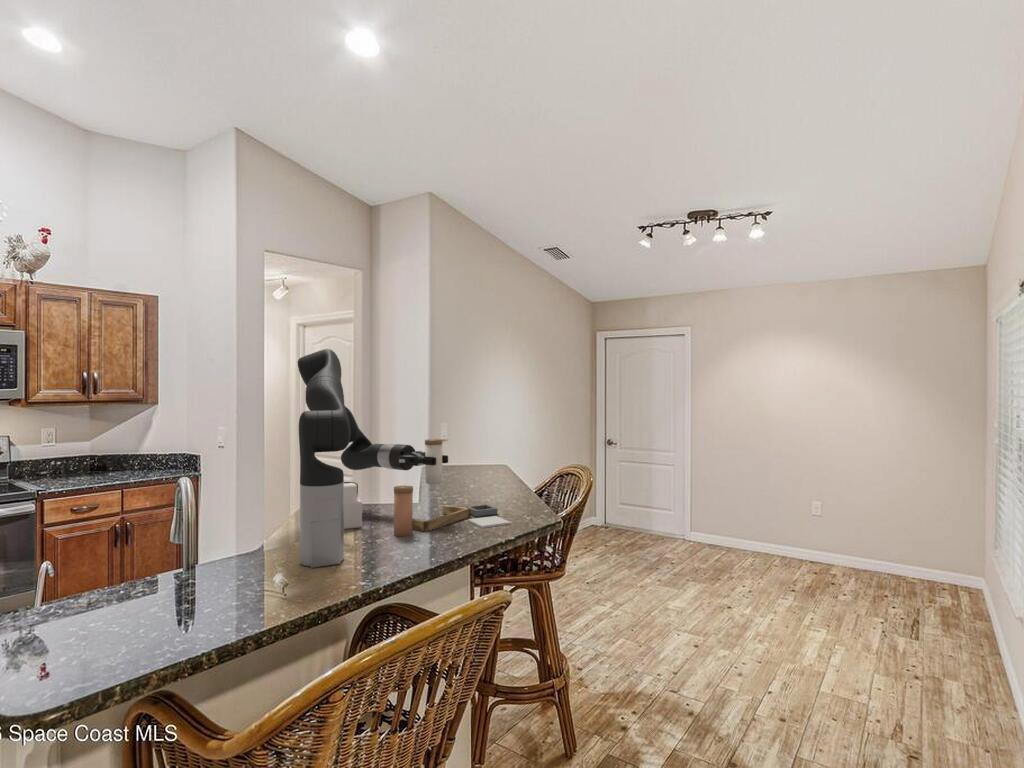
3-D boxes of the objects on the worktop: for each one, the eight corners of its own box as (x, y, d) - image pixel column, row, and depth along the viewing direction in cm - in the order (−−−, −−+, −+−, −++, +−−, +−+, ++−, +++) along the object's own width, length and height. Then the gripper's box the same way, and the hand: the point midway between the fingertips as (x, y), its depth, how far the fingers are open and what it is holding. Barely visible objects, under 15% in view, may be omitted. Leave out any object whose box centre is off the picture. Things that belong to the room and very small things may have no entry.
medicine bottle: (331, 524, 161) (331, 481, 162) (357, 522, 164) (357, 479, 165) (335, 530, 155) (335, 485, 155) (362, 527, 158) (362, 483, 158)
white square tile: (510, 524, 161) (510, 522, 161) (481, 528, 157) (481, 525, 157) (495, 517, 169) (495, 515, 169) (467, 521, 165) (467, 519, 165)
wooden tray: (470, 517, 170) (470, 508, 170) (426, 531, 153) (426, 522, 153) (444, 513, 175) (444, 505, 175) (399, 527, 158) (399, 518, 158)
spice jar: (445, 483, 163) (445, 439, 164) (428, 484, 161) (428, 440, 161) (438, 480, 168) (438, 438, 168) (422, 482, 165) (422, 439, 166)
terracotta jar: (415, 534, 150) (415, 487, 150) (396, 537, 148) (397, 489, 148) (409, 530, 154) (409, 485, 154) (391, 532, 152) (391, 486, 152)
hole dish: (497, 515, 173) (497, 508, 173) (476, 517, 169) (476, 510, 169) (487, 510, 179) (487, 504, 179) (466, 513, 175) (466, 506, 175)
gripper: (379, 446, 166) (425, 449, 157) (412, 442, 178) (457, 445, 169) (379, 472, 166) (425, 477, 157) (412, 466, 178) (457, 470, 169)
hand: (441, 460), depth 163 cm, fingers closed on spice jar, 4 cm apart
